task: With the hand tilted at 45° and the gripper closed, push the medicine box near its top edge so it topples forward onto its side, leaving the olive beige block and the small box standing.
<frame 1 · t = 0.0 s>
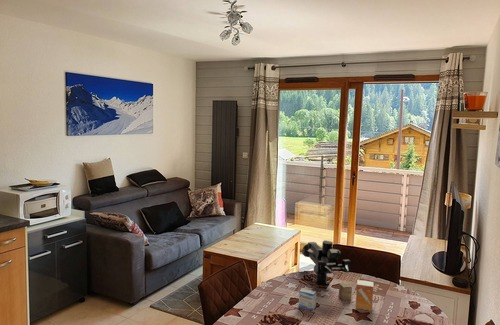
hand: (339, 272, 202), 17 cm above the table, tool horizontal, fingers open, 9 cm apart
medicine box: (307, 307, 198), on the table
small box: (363, 307, 199), on the table
olive beige block: (345, 297, 210), on the table
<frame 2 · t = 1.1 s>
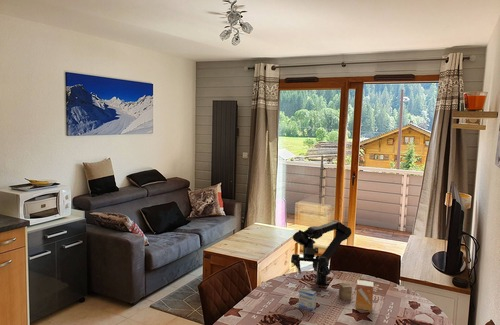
hand: (308, 274, 208), 13 cm above the table, tool tilted 45°, fingers open, 9 cm apart
nothing on the table moved.
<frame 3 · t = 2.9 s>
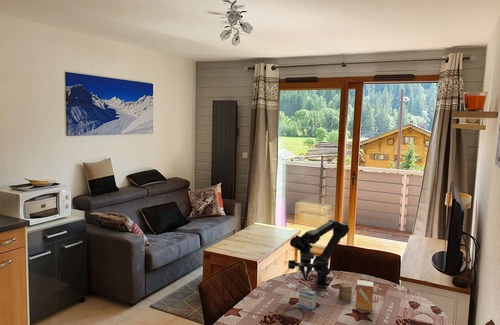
hand: (305, 280, 207), 10 cm above the table, tool tilted 45°, fingers closed
nothing on the table moved.
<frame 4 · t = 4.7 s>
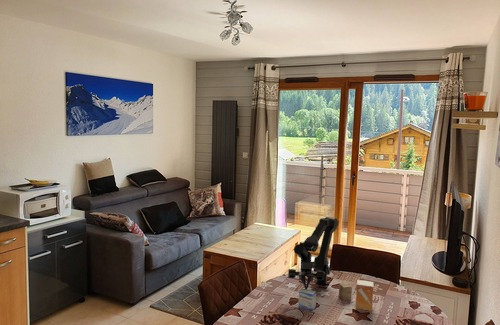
hand: (306, 290, 200), 8 cm above the table, tool tilted 45°, fingers closed
medicine box: (307, 307, 198), on the table, touching gripper
everything else where it was.
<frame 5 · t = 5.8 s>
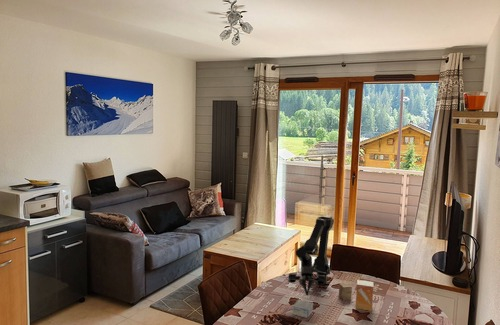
hand: (306, 295, 194), 8 cm above the table, tool tilted 45°, fingers closed
medicine box: (305, 304, 196), point 2 cm above the table
everything else where it was.
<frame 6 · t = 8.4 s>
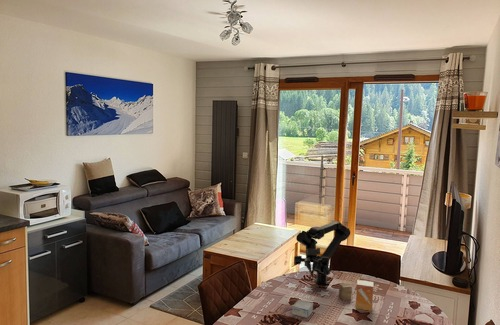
hand: (311, 275, 208), 12 cm above the table, tool tilted 45°, fingers closed
nothing on the table moved.
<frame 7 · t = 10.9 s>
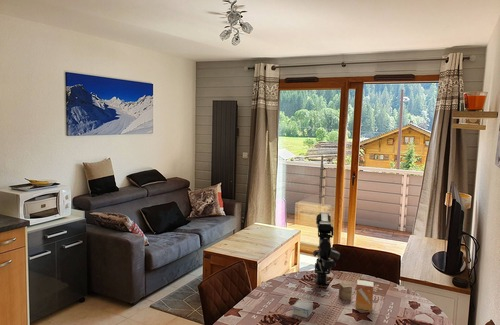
hand: (323, 273, 212), 12 cm above the table, tool pointing down, fingers closed
nothing on the table moved.
at the end: medicine box tilted 90°; medicine box inside the target area (3.6 cm from its centre), point 2.2 cm above the table; olive beige block tilted 0° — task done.
